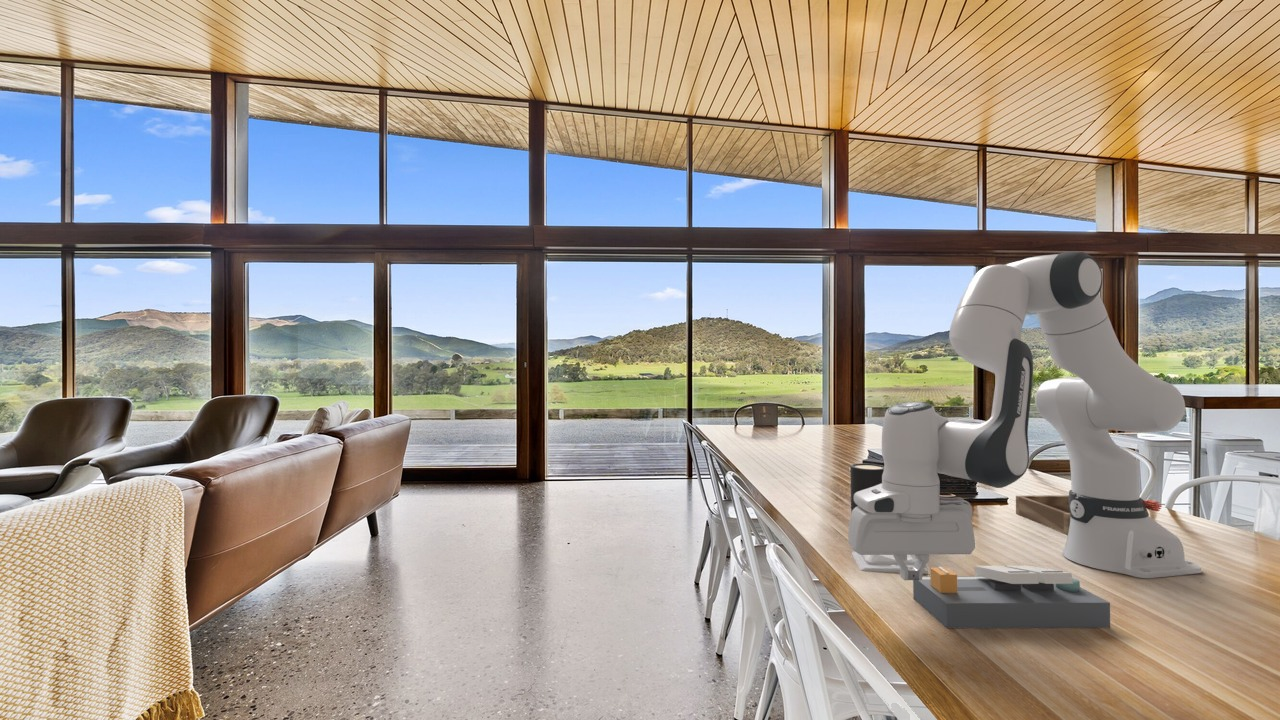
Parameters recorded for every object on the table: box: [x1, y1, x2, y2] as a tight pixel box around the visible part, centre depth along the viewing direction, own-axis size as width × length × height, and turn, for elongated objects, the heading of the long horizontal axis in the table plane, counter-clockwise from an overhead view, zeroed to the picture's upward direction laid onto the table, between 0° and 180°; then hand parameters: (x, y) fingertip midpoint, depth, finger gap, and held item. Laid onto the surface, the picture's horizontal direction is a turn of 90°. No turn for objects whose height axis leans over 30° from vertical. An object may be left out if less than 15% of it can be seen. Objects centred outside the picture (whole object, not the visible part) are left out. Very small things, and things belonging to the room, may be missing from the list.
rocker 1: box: [973, 565, 1039, 584], centre depth 93 cm, size 4×10×2 cm, turn 179°
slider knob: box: [929, 566, 958, 593], centre depth 93 cm, size 3×3×3 cm
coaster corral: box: [1015, 494, 1071, 536], centre depth 143 cm, size 19×19×5 cm
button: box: [1056, 577, 1081, 592], centre depth 93 cm, size 3×3×1 cm
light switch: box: [851, 550, 929, 575], centre depth 116 cm, size 11×4×13 cm
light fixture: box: [850, 458, 884, 513], centre depth 132 cm, size 10×14×18 cm
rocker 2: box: [1004, 565, 1073, 584], centre depth 93 cm, size 4×10×2 cm, turn 179°
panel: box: [912, 575, 1111, 629], centre depth 93 cm, size 26×11×5 cm, turn 89°
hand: (911, 579), depth 93 cm, fingers closed
